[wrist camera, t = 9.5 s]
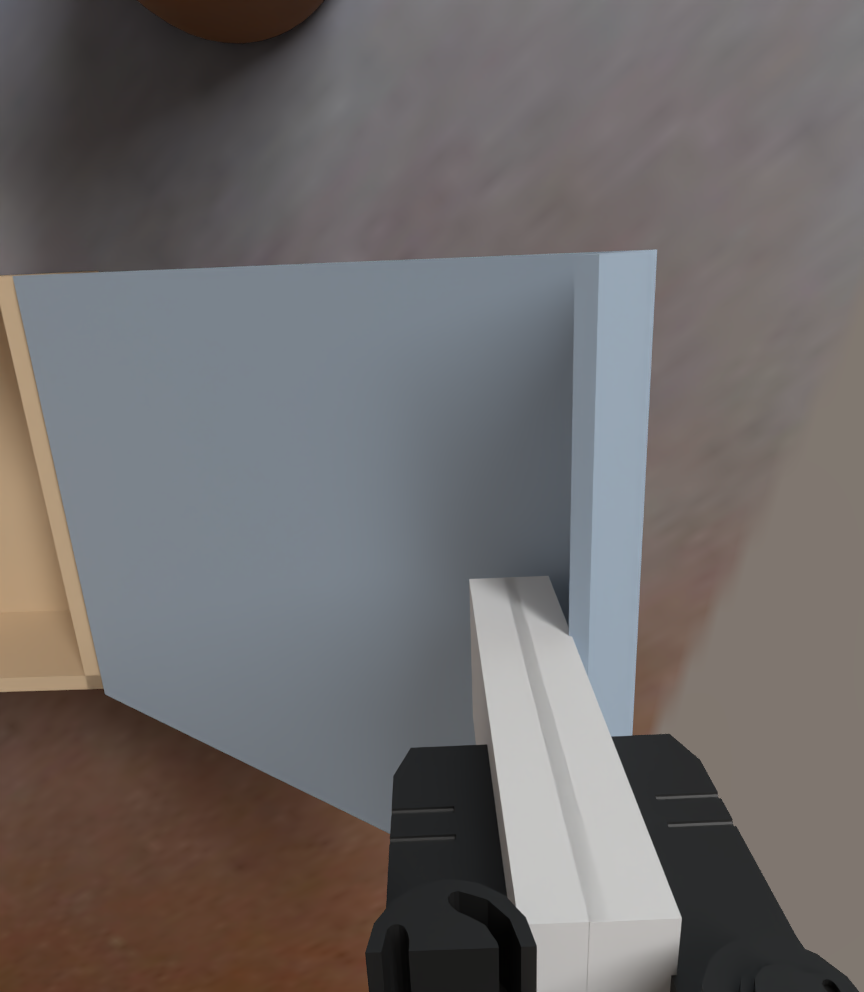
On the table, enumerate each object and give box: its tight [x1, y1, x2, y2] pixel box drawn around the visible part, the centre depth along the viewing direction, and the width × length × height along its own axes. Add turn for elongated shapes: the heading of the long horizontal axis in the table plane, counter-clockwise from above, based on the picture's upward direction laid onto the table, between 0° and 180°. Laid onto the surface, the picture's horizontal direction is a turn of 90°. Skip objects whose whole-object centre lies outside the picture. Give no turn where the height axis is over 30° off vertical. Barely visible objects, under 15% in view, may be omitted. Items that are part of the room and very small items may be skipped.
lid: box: [13, 250, 657, 834], centre depth 16 cm, size 17×13×2 cm
